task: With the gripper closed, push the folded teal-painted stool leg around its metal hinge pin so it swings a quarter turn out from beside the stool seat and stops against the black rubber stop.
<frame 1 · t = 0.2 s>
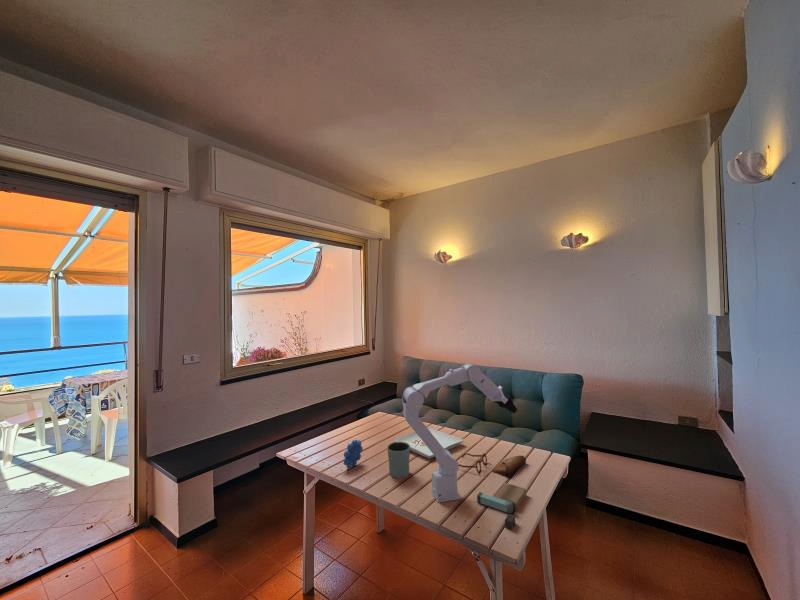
hand: (510, 408, 129), 31 cm above the table, tool tilted 45°, fingers open, 7 cm apart
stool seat: (509, 511, 111), on the table
green cup: (399, 474, 140), on the table
stool leg: (495, 502, 114), point 2 cm above the table, hinge at 0.0°
grapes: (352, 466, 149), on the table
sunglasses case: (509, 469, 143), on the table
glasses: (469, 466, 147), on the table
square plate: (428, 446, 170), on the table
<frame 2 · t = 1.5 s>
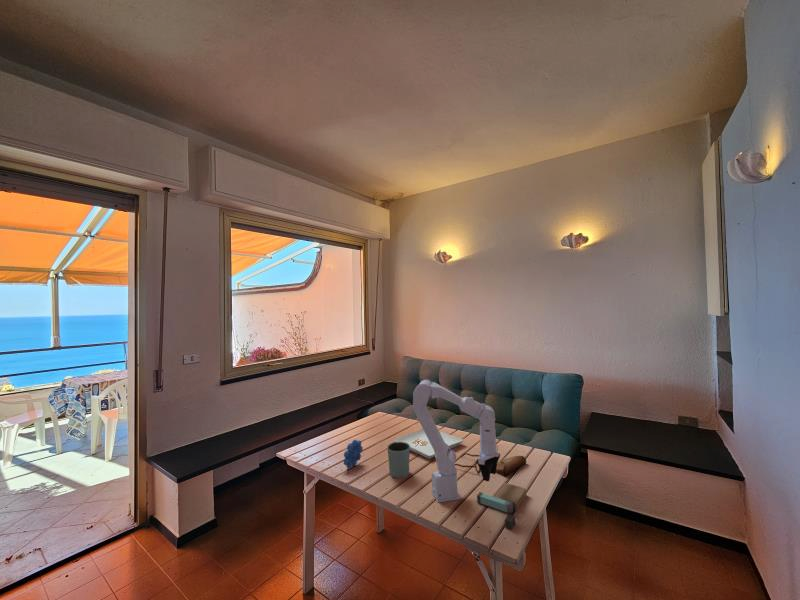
hand: (489, 476, 119), 8 cm above the table, tool pointing down, fingers open, 6 cm apart
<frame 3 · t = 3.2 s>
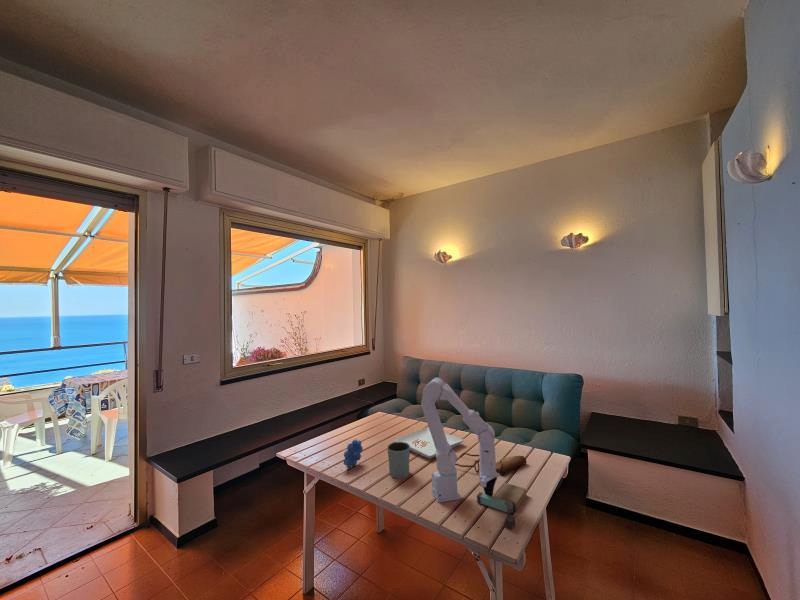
hand: (489, 497, 118), 1 cm above the table, tool pointing down, fingers closed, pressing on stool leg
stool leg: (495, 502, 114), point 2 cm above the table, hinge at 0.1°, touching gripper
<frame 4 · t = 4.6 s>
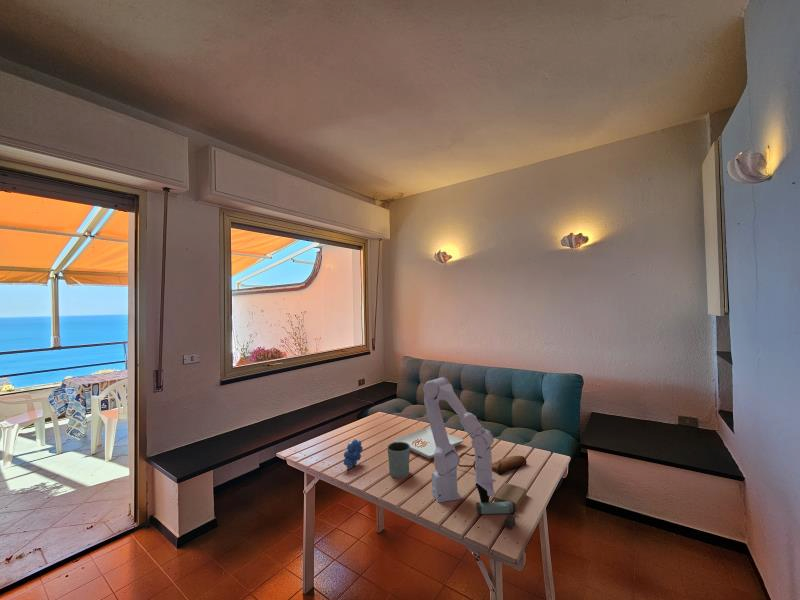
hand: (484, 505, 113), 1 cm above the table, tool pointing down, fingers closed, pressing on stool leg
stool leg: (494, 507, 111), point 2 cm above the table, hinge at 37.2°, touching gripper
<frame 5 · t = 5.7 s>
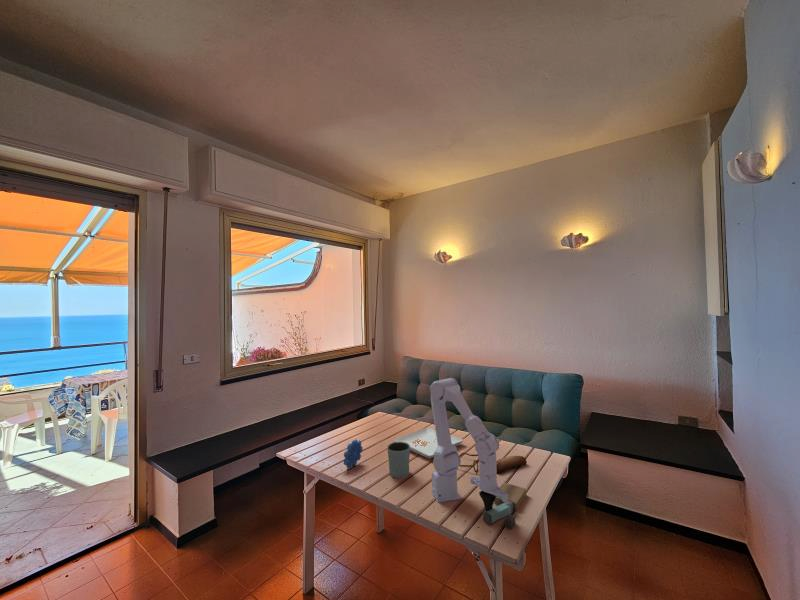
hand: (489, 513, 109), 1 cm above the table, tool pointing down, fingers closed, pressing on stool leg
stool leg: (499, 511, 109), point 2 cm above the table, hinge at 68.1°, touching gripper
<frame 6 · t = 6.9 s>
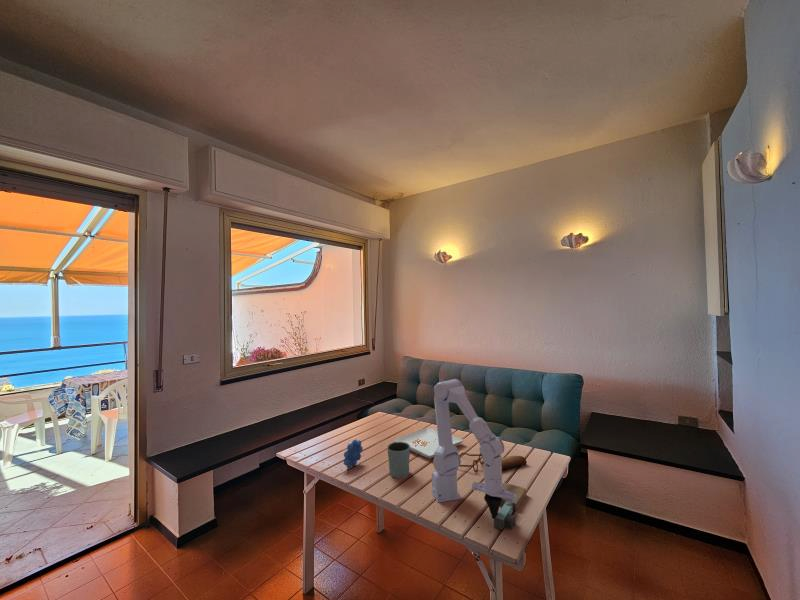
hand: (494, 517, 106), 1 cm above the table, tool pointing down, fingers closed
stool leg: (504, 514, 107), point 2 cm above the table, hinge at 90.4°, touching gripper
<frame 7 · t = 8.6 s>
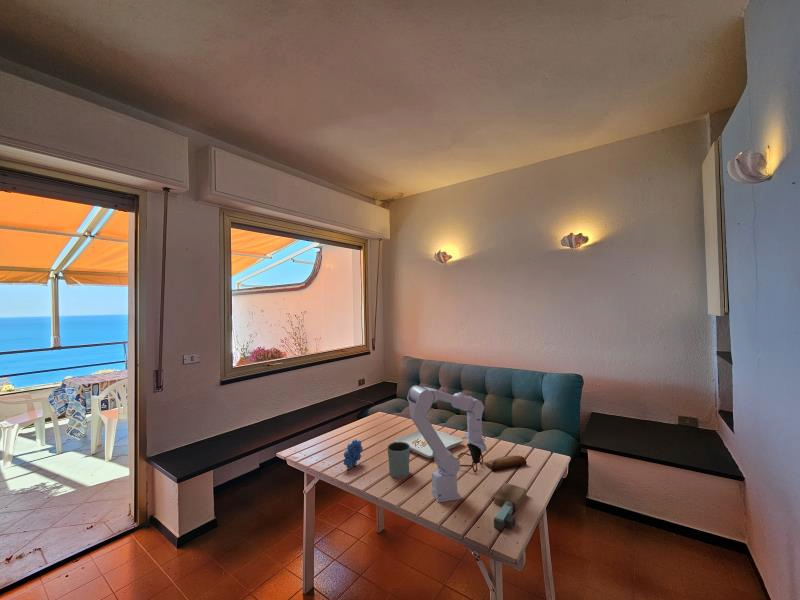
hand: (476, 462, 129), 9 cm above the table, tool pointing down, fingers closed
stool leg: (504, 514, 107), point 2 cm above the table, hinge at 90.4°
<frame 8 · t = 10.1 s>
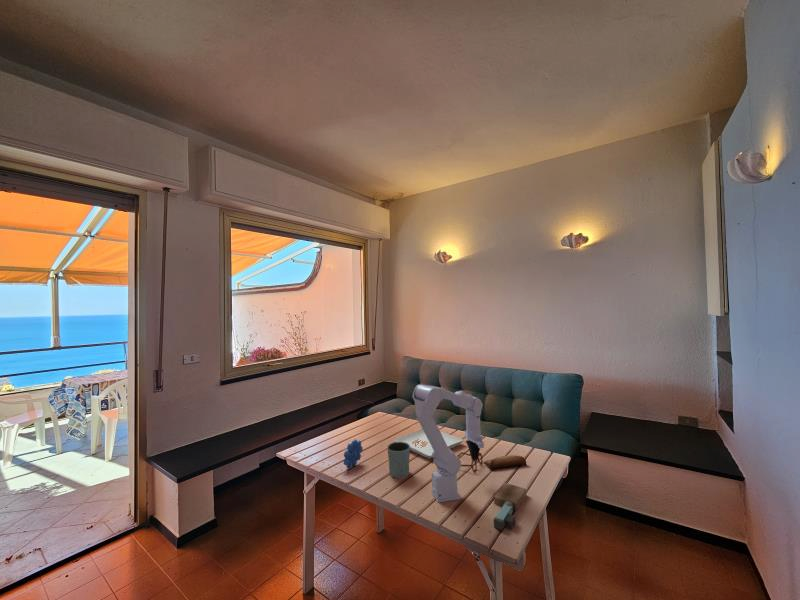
hand: (474, 459, 132), 9 cm above the table, tool pointing down, fingers closed
at the end: stool leg at +90° (first picture: +0°) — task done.
